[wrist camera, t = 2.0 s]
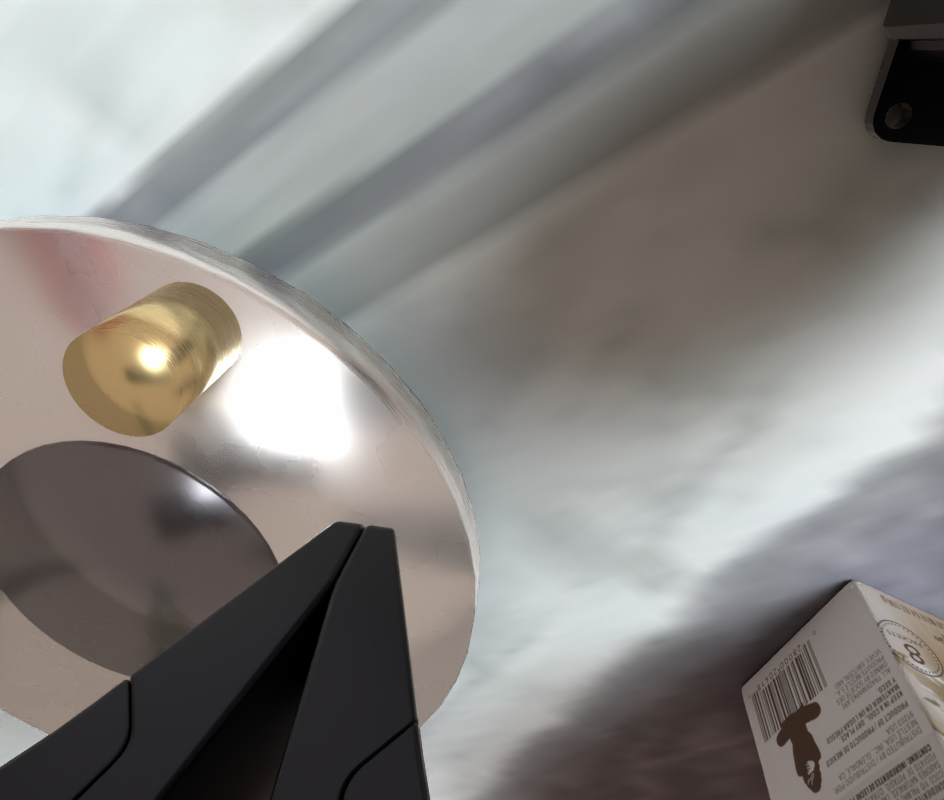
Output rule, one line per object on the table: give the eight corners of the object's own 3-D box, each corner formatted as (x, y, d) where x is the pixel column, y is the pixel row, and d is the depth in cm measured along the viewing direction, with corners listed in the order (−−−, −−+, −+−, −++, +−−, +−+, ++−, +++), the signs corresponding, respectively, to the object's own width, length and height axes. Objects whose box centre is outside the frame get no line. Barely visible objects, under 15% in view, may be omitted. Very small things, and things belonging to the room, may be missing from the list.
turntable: (511, 259, 16) (494, 332, 12) (459, 778, 26) (441, 914, 22) (-284, 178, 17) (-543, 218, 13) (-38, 700, 27) (-141, 812, 23)
